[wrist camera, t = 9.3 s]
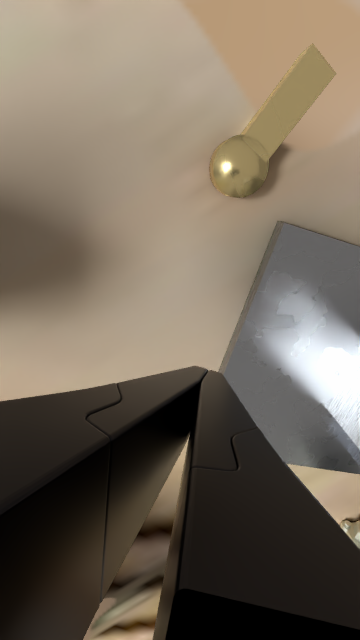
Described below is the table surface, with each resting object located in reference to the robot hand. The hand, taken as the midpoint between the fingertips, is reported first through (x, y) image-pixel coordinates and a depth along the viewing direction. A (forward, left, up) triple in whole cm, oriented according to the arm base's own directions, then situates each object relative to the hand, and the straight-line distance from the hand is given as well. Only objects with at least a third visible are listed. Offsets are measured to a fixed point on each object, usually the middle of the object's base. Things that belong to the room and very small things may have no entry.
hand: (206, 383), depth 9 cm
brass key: (+4, +9, -12) cm, 15 cm away
